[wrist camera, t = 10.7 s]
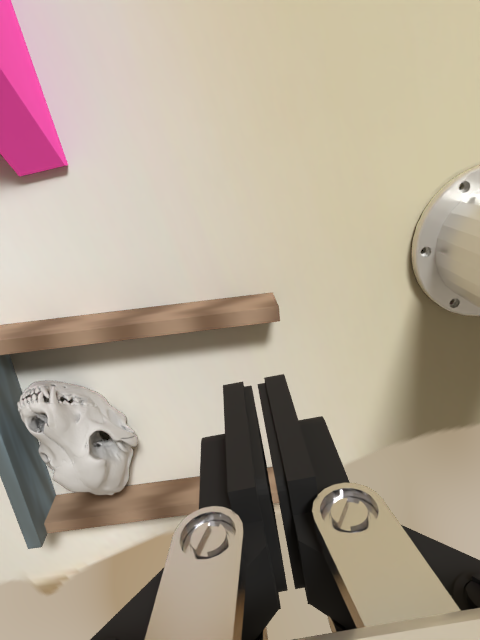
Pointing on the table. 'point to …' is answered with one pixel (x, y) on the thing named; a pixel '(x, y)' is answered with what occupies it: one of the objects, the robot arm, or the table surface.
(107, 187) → the table surface
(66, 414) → the skull
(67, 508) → the bay
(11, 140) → the bracket
